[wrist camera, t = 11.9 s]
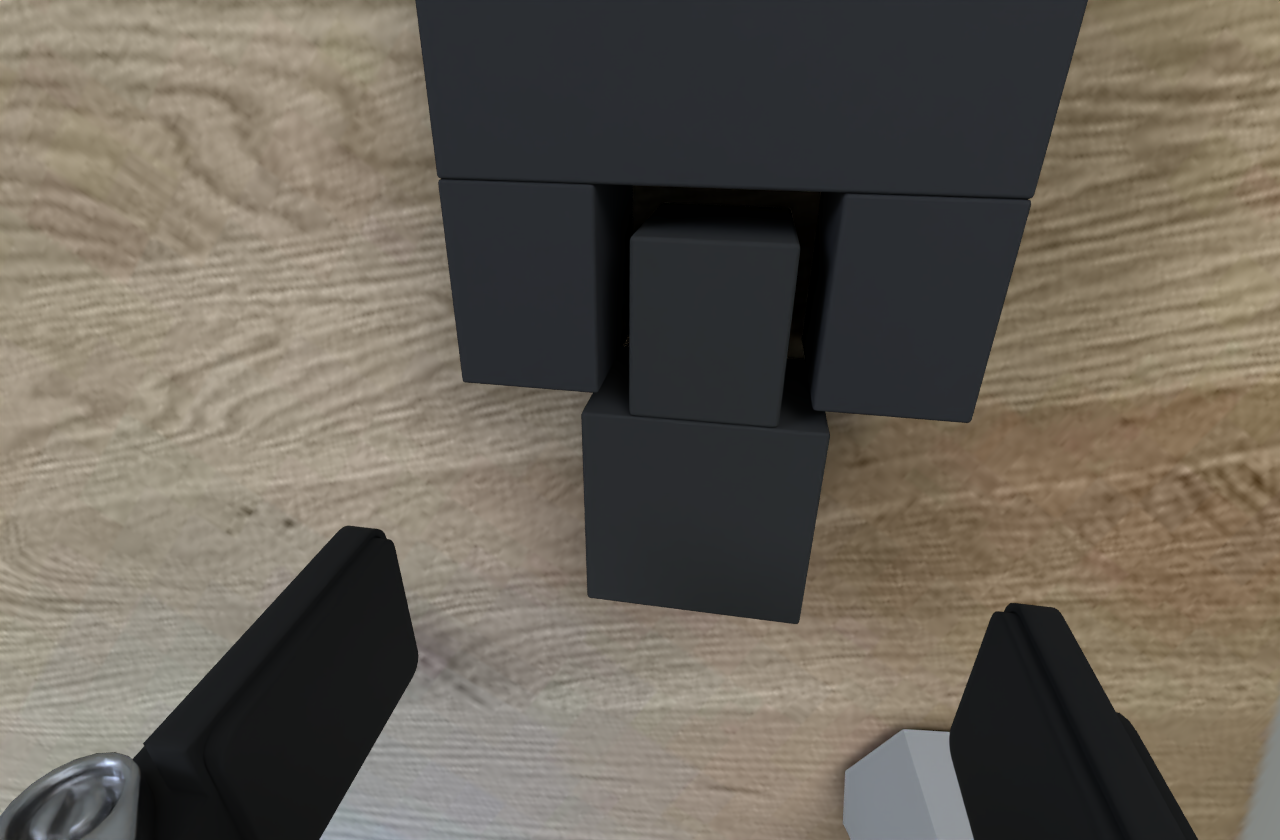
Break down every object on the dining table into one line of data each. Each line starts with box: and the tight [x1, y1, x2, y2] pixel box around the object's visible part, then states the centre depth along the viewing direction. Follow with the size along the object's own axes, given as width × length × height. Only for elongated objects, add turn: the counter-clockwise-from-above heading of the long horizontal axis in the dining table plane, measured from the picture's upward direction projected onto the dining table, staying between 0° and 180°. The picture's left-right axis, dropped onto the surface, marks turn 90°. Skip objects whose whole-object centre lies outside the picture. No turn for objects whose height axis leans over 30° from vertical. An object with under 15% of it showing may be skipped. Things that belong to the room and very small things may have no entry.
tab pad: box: [581, 203, 830, 624], centre depth 15 cm, size 9×5×4 cm, turn 0°
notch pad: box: [416, 0, 1088, 423], centre depth 12 cm, size 10×10×4 cm
